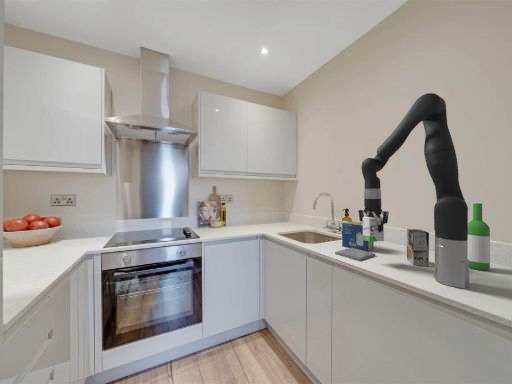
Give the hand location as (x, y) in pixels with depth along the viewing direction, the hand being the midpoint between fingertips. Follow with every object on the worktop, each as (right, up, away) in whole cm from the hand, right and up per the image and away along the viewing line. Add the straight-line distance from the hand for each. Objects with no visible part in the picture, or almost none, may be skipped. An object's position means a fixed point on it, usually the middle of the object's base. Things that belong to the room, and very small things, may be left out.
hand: (373, 231), depth 103 cm
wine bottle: (+43, -16, -8) cm, 47 cm away
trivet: (-4, -15, +11) cm, 19 cm away
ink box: (0, -5, 0) cm, 5 cm away
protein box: (+5, -16, +26) cm, 31 cm away
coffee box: (+21, -16, -1) cm, 26 cm away
